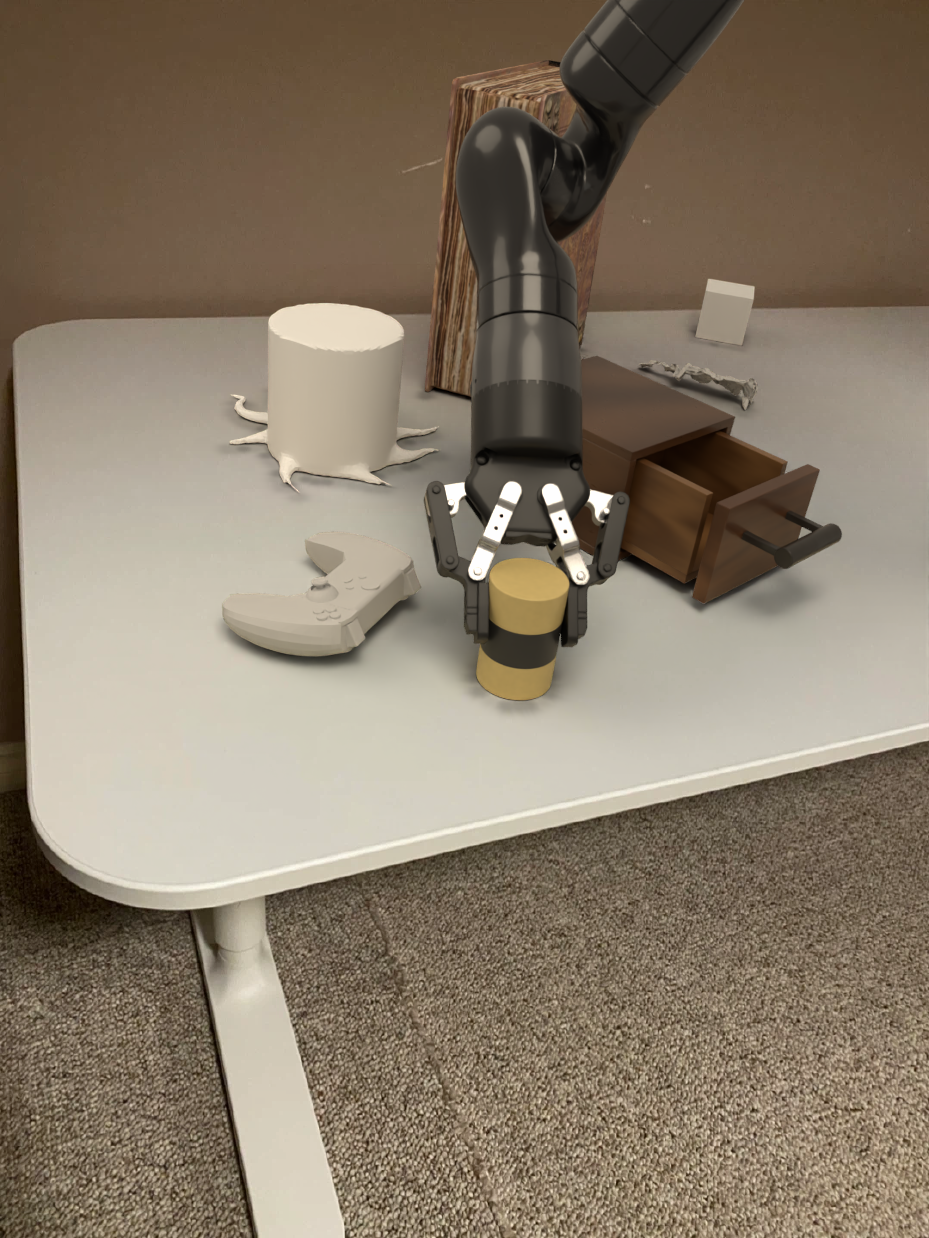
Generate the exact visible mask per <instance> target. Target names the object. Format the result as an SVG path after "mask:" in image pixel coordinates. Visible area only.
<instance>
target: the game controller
mask: <svg viewBox="0 0 929 1238" xmlns="http://www.w3.org/2000/svg"><path fill="white" fill-rule="evenodd" d="M304 549H305V551H306V554H307V555H308V557H309V559H310V560H311V561H312V562H313V563H314V565H316V567H318V568H319V569H321V570H322V572H324V573H325V574H327V575H325V576H318V577H314V578H312V579H311V580H310V585H311V586H310V587H309V588H308V589H307V590H306V592H304V593H296V594H290V595H282V594H275V593H231V594H229V596H227V597H226V599H224V601H223V602H221V608H222V609H221V614H222V618H223V620H224V623H225V624H226V625H227V627H228V628H229V629H230V630H231V631H233V632H234V633H235V634H236V635H237V636H239V637H241V638H242V639H244V640H246V641H248V642H250V643H252V644H254V645H256V646H258V647H261V648H263V649H266V650H269V651H273V652H276V653H281V654H286V655H291V656H298V657H299V656H301V657H327V656H331V655H339V654H344V653H349V652H351V651H352V650H353V649H354V648H355V647H358V646H359V645H361V644H362V643H363V642H364V641H365V640H366V634H367V632H368V631H369V630H371V628H373V627H374V625H376V624H377V623H378V622H379V621H380V620H381V619H382V618H383V617H384V616H385V615H386V614H387V613H388V612H389V611H390V610H391V609H392V608H393V607H394V606H396V604H397V603H399V602H400V601H405V600H407V599H408V598H409V597H410V596H413V595H416V594H417V593H418V592H419V591H420V590H422V585H421V582H420V580H419V577H418V574H417V572H416V569H415V564H414V560H413V559H412V557H411V556H410V555H409V554H408V553H406V552H405V551H403V550H401V549H399V548H398V547H395V546H394V545H392V544H389V543H387V542H384V541H381V540H379V539H376V538H372V537H370V536H365V535H361V534H357V533H351V532H344V531H323V532H319V533H315V534H313V535H312V536H310V537H308V538H305V539H304Z"/></svg>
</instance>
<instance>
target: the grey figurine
mask: <svg viewBox="0 0 929 1238" xmlns="http://www.w3.org/2000/svg"><path fill="white" fill-rule="evenodd" d="M655 364H657V365H658V366H659V365H661V366H663V368H664V372H670V373H672V378H675V380H676V381H678V382H680V381H681V380H682V379H683V378H684V377H685V375H689V376H690V378H691V379H692V380H694V381H695V382H697V383H698V384H709V383H712V382H714V383H715V384H716V385H719V386H721V387H723V388H724V389H725V390H727V391H729V392H730V394H732V395H733V396H739V395H740V394H742V393H743V396H742V397H741V403H742V408H743V409H744V411H746V410H747V408H748V407H749V405H750V406H752V402H753V401H754V397H756V396H757V395H758V390H759V388H758V387H759V385H758V382H757V381H756V380H755V378H753V377H751V378H749V379H747V380H746V379H737V378H735V377H733V376H731V375H725V376H724V375H720V374H718V373H714V372H713V370H711V369H709V368H708V367H705V368H701V367H699V366H697V365H692V364H691V363H690V362H689V363H688V362H687V363H685V365H684V366H683V368H680V365H678V364H677V363H671V365H669V364H668V363H666V362H664V361H659V360H656V359H650V360H649V361H648V363H646V362H640V363H639V364H638V366H640V367H641V368H642V369H643V368H646V367H649V368H653V365H655Z"/></svg>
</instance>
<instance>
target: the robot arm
mask: <svg viewBox="0 0 929 1238" xmlns="http://www.w3.org/2000/svg"><path fill="white" fill-rule="evenodd" d="M744 1H745V0H606V1H605V2H604V3H603V5H602V6H601V7H600V8H599V10H598V11H597V12H596V13H595V15H594V16H593V17H592V18H591V19H590V20H589V22H588V23H587V25H586V26H585V27H584V28H583V29H584V30H582V31H581V32H580V33H579V34H578V36H577V37H576V38H575V39H574V41H573V42H572V43H571V44H570V46H569V47H568V49H567V50H566V51H565V53H564V55H563V56H562V59H561V60H560V62H561V63H560V69H559V72H560V78H561V81H562V83H563V85H564V87H565V89H566V90H567V92H568V93H569V95H570V96H571V98H572V99H573V101H574V102H575V103H576V109H575V112H574V114H573V117H572V119H571V121H570V124H569V126H568V128H567V130H566V132H565V133H564V135H563V136H562V137H560V136H559V135H557V134H556V133H555V132H553V131H552V130H551V129H550V128H548V127H547V126H546V125H544V124H543V123H542V122H540V121H539V120H538V119H536V118H535V117H534V116H532V115H531V114H529V113H528V112H526V111H523V110H521V109H519V108H515V107H498V108H495V109H492V110H490V111H488V112H486V113H485V114H483V115H482V116H481V117H480V118H479V119H477V120H476V121H475V123H474V124H473V125H472V126H471V128H470V129H469V131H468V132H467V134H466V136H465V138H464V140H463V142H462V145H461V148H460V151H459V155H458V159H457V165H456V179H455V180H456V194H457V200H458V206H459V211H460V216H461V220H462V224H463V228H464V233H465V237H466V241H467V246H468V250H469V254H470V258H471V261H472V264H473V267H474V271H475V274H476V278H477V309H476V343H475V350H474V355H473V363H472V381H471V385H470V396H471V397H470V396H469V397H470V398H471V400H470V401H471V402H470V404H471V405H470V407H471V409H470V411H471V412H470V419H471V420H470V468H469V472H468V474H467V475H466V477H465V479H464V481H463V482H456V483H450V484H449V483H448V484H444V483H443V482H442V481H439V480H433V481H431V482H430V483H428V485H427V486H426V491H425V493H424V496H423V505H424V510H425V517H426V522H427V526H428V532H429V537H430V541H431V547H432V552H433V557H434V562H435V568H436V571H437V574H438V575H439V576H440V577H442V578H450V579H452V580H454V581H457V582H458V583H460V585H461V586H462V588H463V628H464V631H465V634H466V635H472V638H473V639H472V642H473V644H475V645H477V644H479V645H480V644H485V643H486V642H487V641H488V635H489V583H488V582H486V578H487V577H486V576H487V574H488V572H489V570H490V568H491V564H492V562H493V560H494V558H495V555H496V553H497V550H498V548H499V547H500V545H506V546H507V545H508V546H513V545H518V544H523V543H524V544H527V545H531V546H533V547H545V548H546V549H547V550H546V551H547V553H548V555H549V559H550V560H551V562H552V563H553V565H554V566H556V567H557V568H559V569H560V570H561V571H563V572H564V573H565V575H566V576H567V578H568V580H569V591H568V596H567V602H566V607H565V612H564V618H563V623H562V629H561V634H560V647H561V648H574V647H575V646H577V644H578V642H579V640H580V639H581V638H582V637H584V636H585V635H586V633H587V630H588V591H589V590H588V589H589V588H590V587H592V586H596V585H597V586H601V585H603V584H604V583H606V582H607V580H608V579H609V578H611V577H613V576H614V575H615V574H616V571H617V568H618V563H619V561H618V558H619V553H620V548H621V543H622V538H623V533H624V528H625V523H626V519H627V514H628V509H629V504H630V498H629V496H628V495H627V494H626V493H624V492H617V493H615V494H614V495H610V494H607V493H603V492H599V491H595V490H591V489H590V486H589V484H588V482H587V480H586V479H585V476H584V473H583V438H582V362H581V359H582V354H581V349H580V347H579V341H578V283H577V274H576V269H575V266H574V264H573V262H572V260H571V258H570V257H569V255H568V254H567V253H566V252H565V251H564V249H563V248H562V247H561V246H560V245H559V244H558V243H559V242H561V241H563V240H565V239H567V238H569V237H571V236H572V235H574V234H575V233H576V232H578V231H579V230H580V229H581V228H582V227H583V226H584V225H585V224H586V223H587V222H588V221H589V220H590V219H591V217H592V216H593V215H594V213H595V212H596V211H597V209H598V207H599V206H600V204H601V202H602V200H603V199H604V197H605V195H606V193H607V194H608V191H609V189H610V188H611V186H612V185H613V184H612V183H613V182H614V179H615V178H616V177H617V174H618V173H619V171H620V169H621V167H622V165H623V164H624V161H625V160H626V158H627V156H628V154H629V152H630V151H631V149H632V147H633V145H634V143H635V141H636V139H637V136H638V134H639V133H640V131H641V129H642V128H643V126H644V124H645V123H646V122H647V120H648V119H649V118H650V117H651V116H652V115H653V114H654V113H655V111H657V109H658V107H661V105H662V104H663V103H664V102H665V101H666V99H667V98H668V97H669V96H670V95H671V94H672V93H673V92H674V90H676V88H677V87H678V86H679V85H680V83H681V82H682V81H683V80H684V79H685V78H686V77H687V75H688V74H690V72H691V71H692V70H693V69H694V68H695V66H697V64H698V63H699V62H700V61H701V59H703V57H704V56H705V55H706V53H707V52H708V51H709V50H710V49H711V47H713V45H714V43H715V42H716V41H717V40H718V38H719V37H720V36H721V34H722V33H723V31H725V29H726V28H727V27H728V25H729V23H730V22H731V21H732V20H733V18H734V17H735V15H736V14H737V12H738V11H739V9H740V8H741V6H742V4H744ZM606 196H607V195H606ZM463 500H464V501H465V502H466V503H467V506H469V508H470V509H471V511H472V512H473V514H475V516H476V518H477V519H478V520H479V522H480V523H481V525H482V526H483V528H484V529H483V530H482V532H481V535H480V537H479V540H478V542H477V545H476V547H475V548H474V552H473V554H472V556H471V559H470V560H469V559H467V558H465V557H462V556H460V555H459V550H458V545H457V539H456V535H455V530H454V526H453V525H454V524H453V521H452V519H453V518H455V516H456V515H457V513H458V511H459V509H460V502H461V501H463ZM584 506H587V507H588V508H589V509H590V510H591V512H592V521H593V523H594V524H595V525H597V526H599V531H598V536H597V540H596V545H595V550H594V555H592V560H591V564H588V565H587V564H586V562H585V559H584V556H583V554H582V552H581V551H582V550H581V548H580V544H579V540H578V538H577V535H576V533H575V530H574V528H573V525H572V521H573V520H574V519H575V517H576V516H577V515H578V513H579V512H580V511H581V509H582V508H583V507H584ZM564 532H565V533H564Z"/></svg>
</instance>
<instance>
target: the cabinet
mask: <svg viewBox="0 0 929 1238" xmlns="http://www.w3.org/2000/svg"><path fill="white" fill-rule="evenodd" d="M581 362H582V438H583V473H584V476H585V479H586V480H587V482H588V484H589V486H590V489H591V490H595V491H599V492H603V493H607V494H610V495H614V494H615V493H617V492H624V493H626V494H627V495H628V496H629V493H630V488H631V483H632V479H633V474H634V469H635V465H636V459H639V458H642V457H645V456H648V455H650V454H653V453H656V452H659V451H662V450H664V449H667V448H670V447H673V446H676V445H678V444H681V443H684V442H687V441H690V440H692V439H695V438H698V437H701V436H704V435H707V434H709V433H712V432H715V431H718V430H720V431H722V432H724V433H726V434H728V435H731V434H732V430H733V426H734V422H735V419H736V416H735V415H733V414H731V413H728V412H726V411H723V410H721V409H719V408H717V407H714V406H712V405H710V404H708V403H705V402H703V401H701V400H699V399H697V398H694V397H691V396H689V395H687V394H685V393H683V392H681V391H678V390H676V389H674V388H671V387H669V386H667V385H665V384H662V383H660V382H658V381H656V380H653V379H652V378H649V377H647V376H644V375H643V374H640V373H637V372H635V371H633V370H631V369H629V368H626V367H624V366H622V365H619V364H617V363H615V362H613V361H611V360H609V359H606V358H604V357H602V356H599V355H594V356H590V357H585V358H581ZM572 525H573V528H574V530H575V533H576V535H577V538H578V540H579V544H580V550H581V551H584V552H586V553H588V554H589V555H591V556H593V555H594V550H595V545H596V540H597V536H598V531H599V526H597V525H595V524H594V523H593V521H592V512H591V510H590V509H589V508H588V507H587V506H584V507H583V508H582V509H581V511H580V512H579V513H578V515H577V516H576V517H575V519H574V520H573V521H572ZM564 533H565V532H564ZM631 556H634V555H633V554H631V553H630V552H628V551H626V550H624V549H623V548H620V553H619V558H618V562H619V561H621V560H624V559H626V558H628V557H631Z"/></svg>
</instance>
